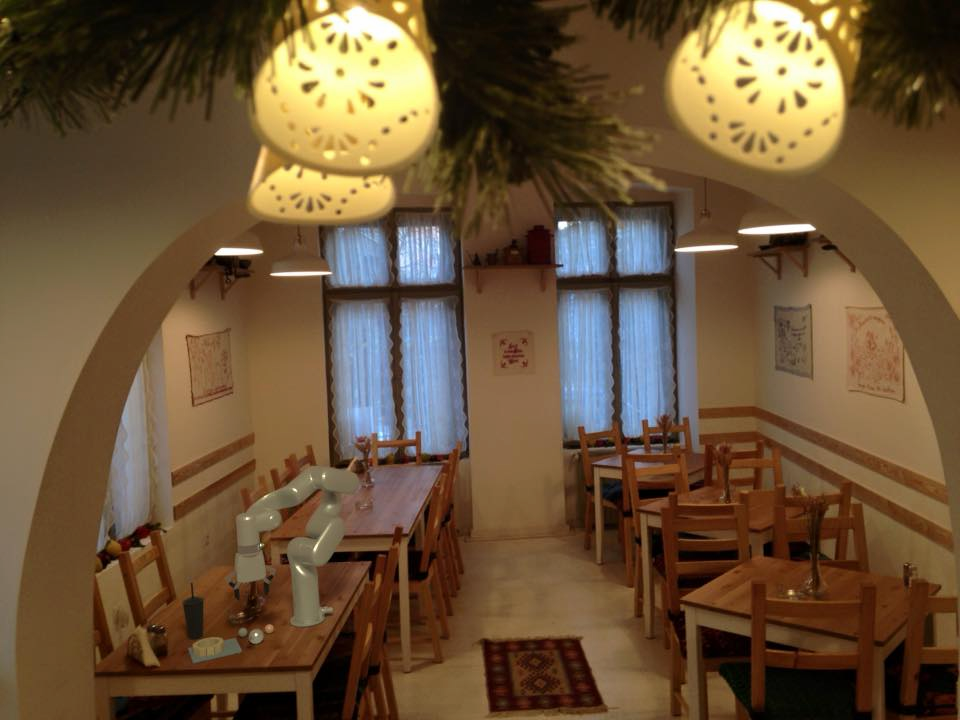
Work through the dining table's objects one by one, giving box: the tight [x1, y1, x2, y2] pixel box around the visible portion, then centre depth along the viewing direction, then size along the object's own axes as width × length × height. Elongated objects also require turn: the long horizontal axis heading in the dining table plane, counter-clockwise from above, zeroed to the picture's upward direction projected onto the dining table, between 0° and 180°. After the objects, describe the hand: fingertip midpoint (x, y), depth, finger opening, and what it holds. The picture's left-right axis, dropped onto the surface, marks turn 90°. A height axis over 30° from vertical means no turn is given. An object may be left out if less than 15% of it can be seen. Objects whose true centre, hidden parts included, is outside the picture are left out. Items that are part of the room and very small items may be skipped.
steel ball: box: [248, 628, 264, 645], centre depth 291 cm, size 5×5×5 cm
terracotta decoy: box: [264, 624, 275, 635], centre depth 300 cm, size 3×3×3 cm
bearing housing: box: [187, 636, 243, 664], centre depth 286 cm, size 16×12×4 cm
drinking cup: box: [181, 582, 205, 641], centre depth 300 cm, size 8×8×20 cm
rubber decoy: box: [237, 627, 248, 638], centre depth 298 cm, size 3×3×3 cm
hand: (252, 596), depth 290 cm, fingers open, 9 cm apart
